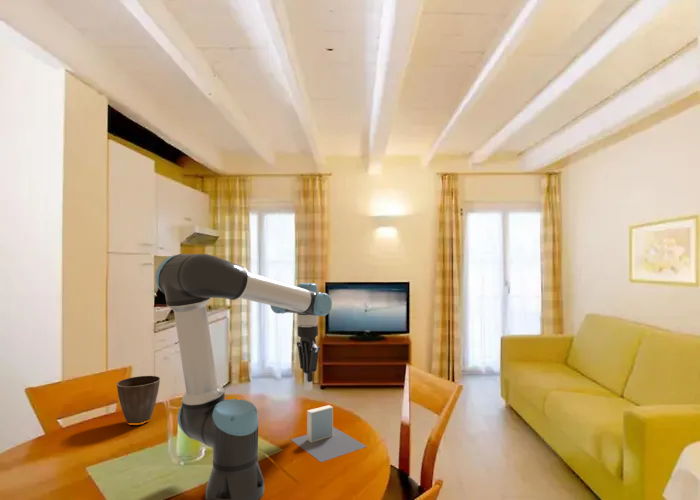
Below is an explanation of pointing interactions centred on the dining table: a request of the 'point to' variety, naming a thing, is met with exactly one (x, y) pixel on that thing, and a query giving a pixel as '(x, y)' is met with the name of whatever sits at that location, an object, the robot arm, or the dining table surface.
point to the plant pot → (138, 397)
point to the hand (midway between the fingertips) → (308, 389)
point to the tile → (319, 423)
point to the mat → (329, 445)
